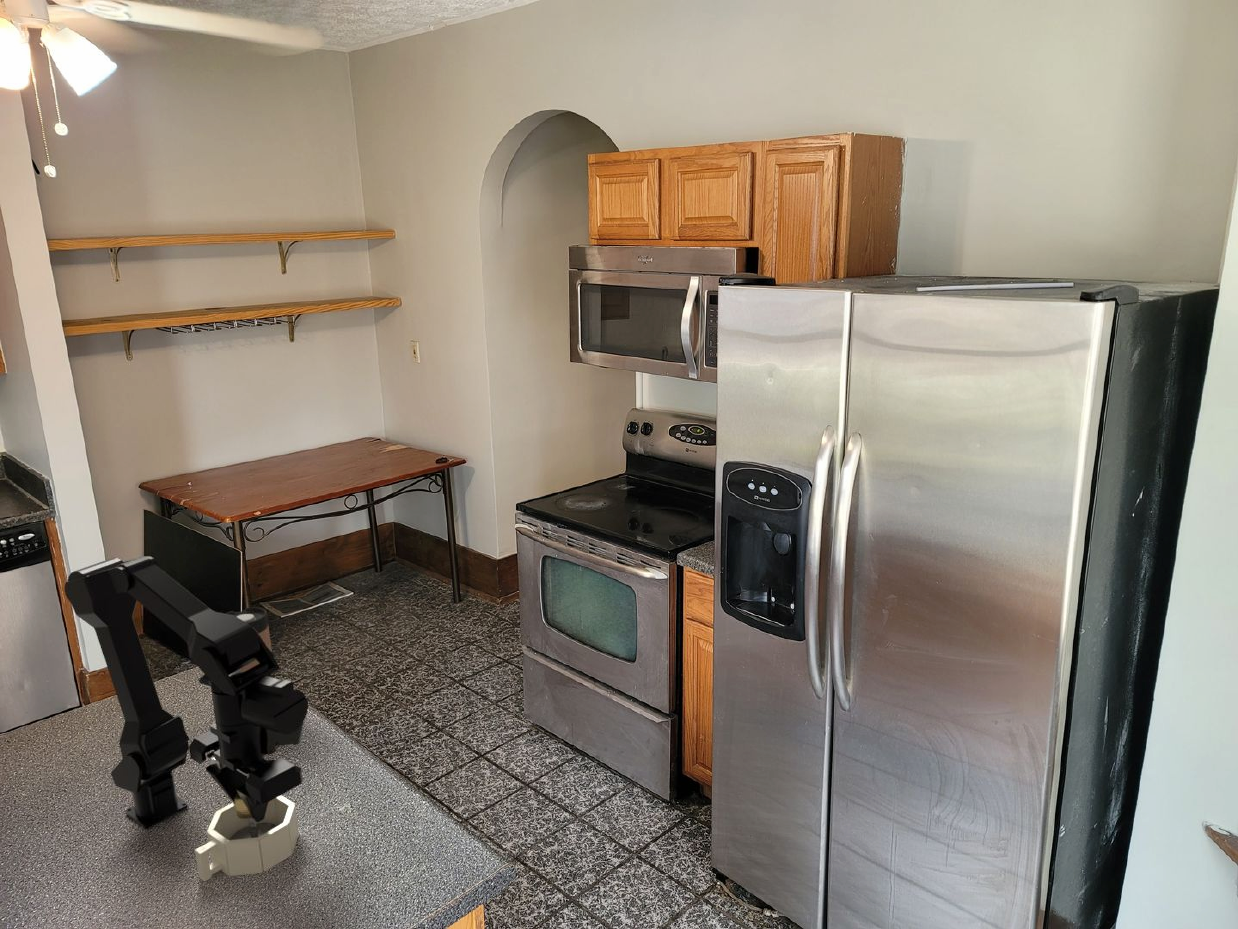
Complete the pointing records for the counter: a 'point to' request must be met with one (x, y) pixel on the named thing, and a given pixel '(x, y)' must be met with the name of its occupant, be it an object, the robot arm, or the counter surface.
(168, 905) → the counter surface
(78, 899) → the counter surface
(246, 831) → the plunger
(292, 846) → the cream octagonal ring
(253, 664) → the travel mug
